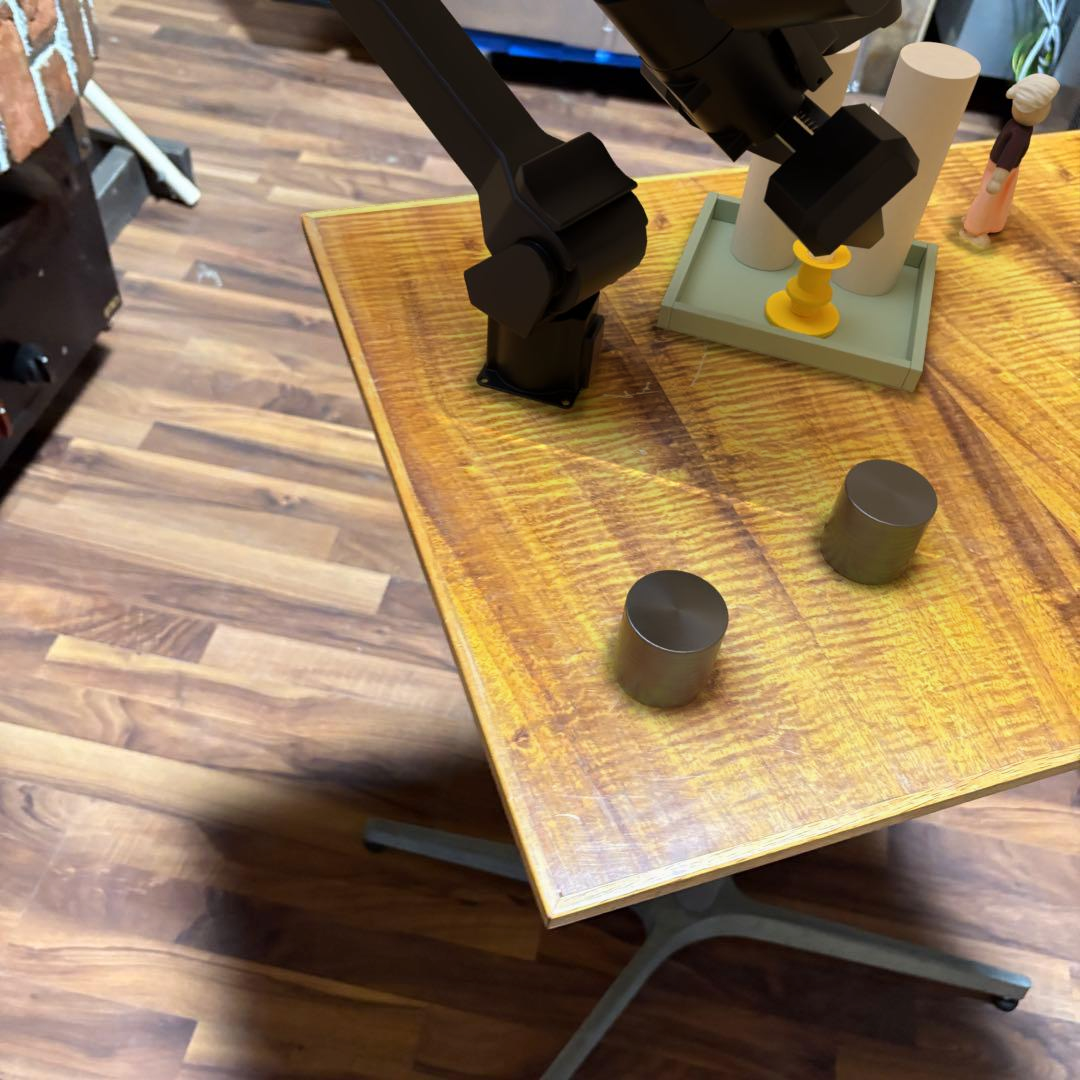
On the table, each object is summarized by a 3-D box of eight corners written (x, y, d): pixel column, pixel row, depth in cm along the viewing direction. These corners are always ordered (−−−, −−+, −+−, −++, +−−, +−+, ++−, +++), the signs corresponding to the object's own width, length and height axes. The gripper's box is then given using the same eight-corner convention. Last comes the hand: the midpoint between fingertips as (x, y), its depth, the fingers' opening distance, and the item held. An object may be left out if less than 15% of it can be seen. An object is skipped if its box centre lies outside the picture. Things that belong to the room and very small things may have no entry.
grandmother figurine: (1003, 262, 79) (1080, 103, 70) (953, 254, 80) (1023, 94, 70) (994, 210, 84) (1065, 55, 75) (947, 202, 85) (1011, 47, 75)
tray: (655, 331, 71) (660, 304, 69) (703, 216, 81) (709, 190, 79) (910, 397, 68) (922, 371, 66) (927, 270, 78) (939, 244, 76)
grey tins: (593, 654, 53) (604, 596, 49) (860, 506, 61) (888, 446, 57) (653, 727, 50) (670, 671, 47) (924, 562, 59) (957, 503, 55)
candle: (843, 343, 71) (923, 128, 59) (768, 337, 70) (833, 120, 59) (831, 297, 74) (905, 85, 62) (760, 291, 74) (820, 78, 62)
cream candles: (723, 261, 76) (776, 42, 64) (736, 226, 79) (789, 11, 67) (892, 303, 74) (979, 85, 62) (898, 265, 77) (982, 51, 65)
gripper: (960, -53, 39) (1060, 173, 51) (729, -193, 50) (853, 18, 62) (739, 166, 43) (878, 331, 54) (569, -9, 54) (714, 158, 65)
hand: (830, 197), depth 59 cm, fingers open, 9 cm apart
